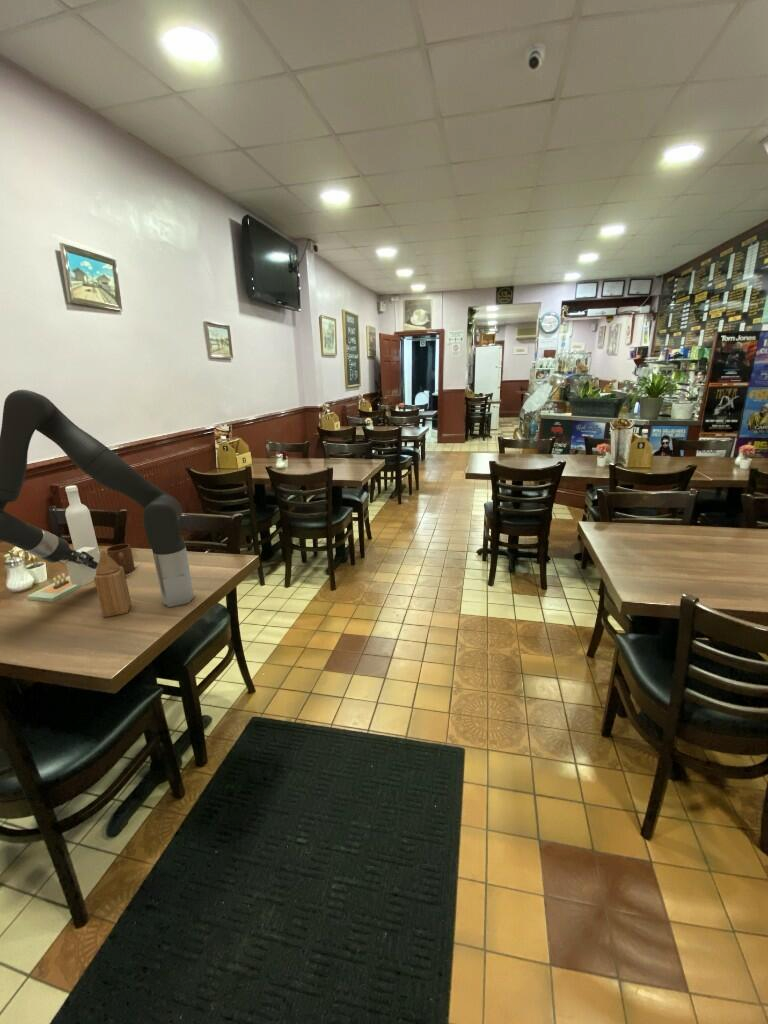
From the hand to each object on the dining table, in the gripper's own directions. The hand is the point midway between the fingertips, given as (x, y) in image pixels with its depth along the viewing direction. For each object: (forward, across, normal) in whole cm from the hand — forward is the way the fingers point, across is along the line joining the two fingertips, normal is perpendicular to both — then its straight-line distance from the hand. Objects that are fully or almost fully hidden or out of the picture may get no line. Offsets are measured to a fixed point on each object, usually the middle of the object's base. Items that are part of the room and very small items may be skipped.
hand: (89, 565), depth 144 cm
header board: (+5, +12, +7) cm, 15 cm away
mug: (+16, 0, -3) cm, 16 cm away
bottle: (+21, +24, -9) cm, 34 cm away
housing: (+2, 0, +4) cm, 5 cm away
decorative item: (-1, -19, +14) cm, 24 cm away
